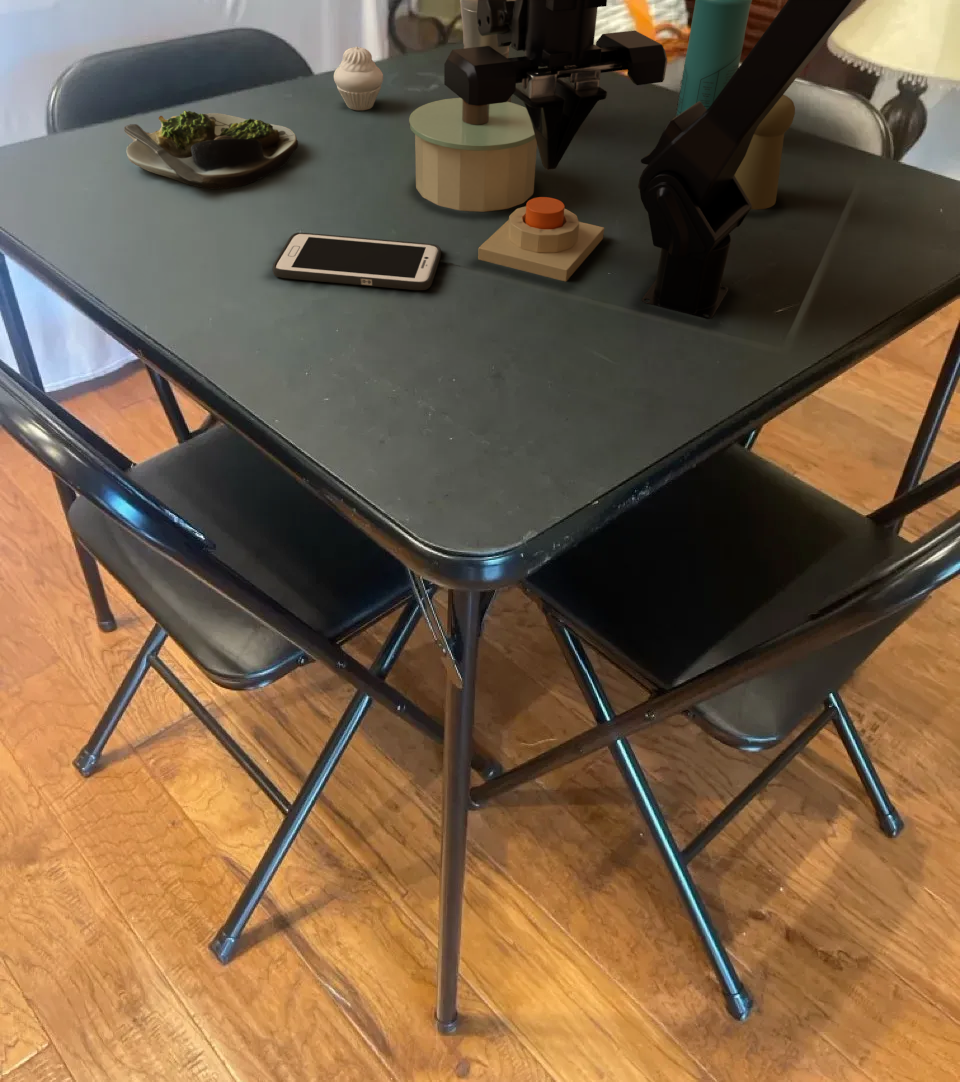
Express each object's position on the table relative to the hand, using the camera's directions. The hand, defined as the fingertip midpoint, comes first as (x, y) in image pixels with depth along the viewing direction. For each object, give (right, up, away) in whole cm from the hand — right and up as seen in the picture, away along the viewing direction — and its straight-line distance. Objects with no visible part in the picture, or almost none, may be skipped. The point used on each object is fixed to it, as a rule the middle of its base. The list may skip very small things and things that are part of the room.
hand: (549, 167), depth 84 cm
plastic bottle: (-6, +17, +29) cm, 34 cm away
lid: (-7, +9, +11) cm, 16 cm away
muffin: (-22, +21, +34) cm, 45 cm away
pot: (-7, +4, +16) cm, 18 cm away
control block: (0, -6, +6) cm, 8 cm away
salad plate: (-36, +9, +20) cm, 42 cm away
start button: (0, -4, +4) cm, 5 cm away
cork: (+23, +3, +16) cm, 28 cm away
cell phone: (-18, -8, +3) cm, 20 cm away
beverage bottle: (+21, +16, +30) cm, 39 cm away
